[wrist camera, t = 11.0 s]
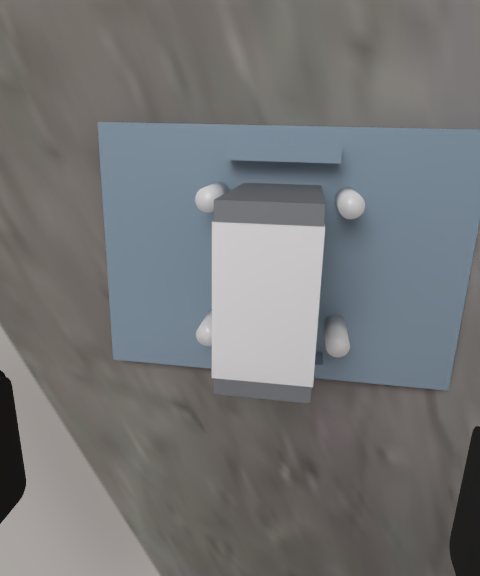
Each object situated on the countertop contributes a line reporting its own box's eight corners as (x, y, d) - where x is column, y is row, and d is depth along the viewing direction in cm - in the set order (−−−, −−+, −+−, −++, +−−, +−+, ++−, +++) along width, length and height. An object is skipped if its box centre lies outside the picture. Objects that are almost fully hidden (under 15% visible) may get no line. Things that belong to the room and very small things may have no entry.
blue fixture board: (487, 130, 23) (524, 127, 19) (442, 380, 27) (465, 420, 23) (107, 122, 25) (69, 119, 21) (121, 351, 30) (91, 383, 26)
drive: (321, 185, 24) (326, 204, 16) (311, 328, 26) (311, 404, 18) (243, 182, 24) (211, 200, 16) (240, 323, 26) (211, 395, 19)
